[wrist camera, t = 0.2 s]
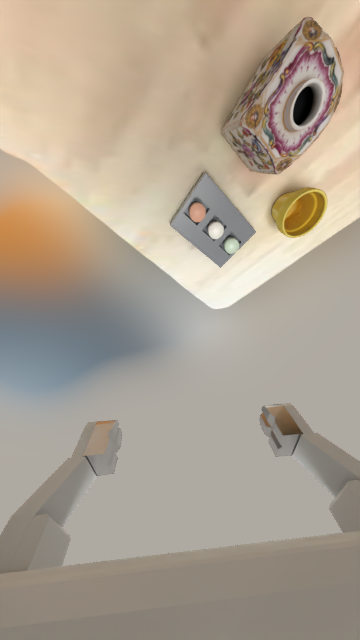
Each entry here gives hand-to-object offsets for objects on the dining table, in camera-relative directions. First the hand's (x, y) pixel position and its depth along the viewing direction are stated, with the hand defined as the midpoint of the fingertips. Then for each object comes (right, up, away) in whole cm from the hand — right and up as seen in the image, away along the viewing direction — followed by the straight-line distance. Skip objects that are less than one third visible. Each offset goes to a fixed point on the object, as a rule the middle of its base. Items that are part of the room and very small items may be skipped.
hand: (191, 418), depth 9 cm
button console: (+9, +34, +40) cm, 54 cm away
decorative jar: (+16, +49, +27) cm, 58 cm away
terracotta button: (+4, +35, +35) cm, 50 cm away
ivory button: (+9, +32, +39) cm, 51 cm away
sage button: (+15, +29, +42) cm, 53 cm away
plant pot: (+29, +38, +39) cm, 62 cm away
